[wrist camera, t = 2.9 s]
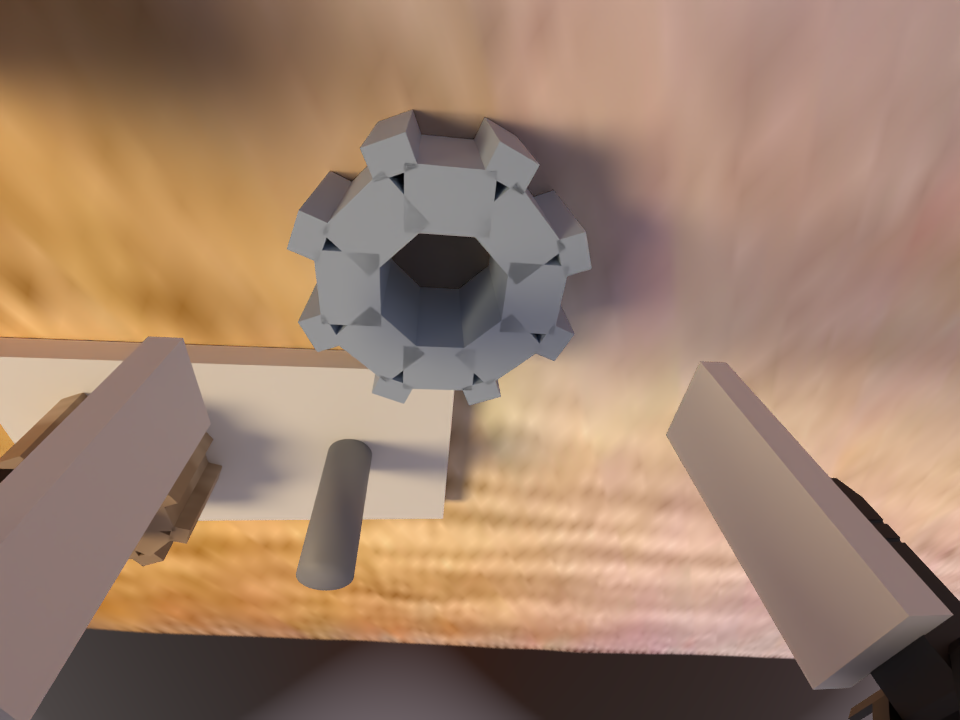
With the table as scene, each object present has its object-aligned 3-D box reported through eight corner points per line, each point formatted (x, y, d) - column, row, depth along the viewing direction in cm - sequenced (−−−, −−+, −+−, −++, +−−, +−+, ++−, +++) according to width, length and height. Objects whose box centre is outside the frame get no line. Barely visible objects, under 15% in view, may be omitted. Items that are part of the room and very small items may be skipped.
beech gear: (11, 390, 21) (-67, 455, 18) (198, 395, 22) (157, 457, 19) (82, 500, 25) (31, 568, 22) (234, 500, 26) (206, 564, 23)
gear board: (-20, 336, 21) (-246, 485, 14) (455, 354, 23) (462, 486, 17) (85, 500, 28) (-31, 653, 21) (442, 499, 30) (444, 634, 23)
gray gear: (308, 98, 16) (266, 118, 12) (579, 126, 18) (622, 153, 14) (333, 335, 22) (310, 401, 18) (534, 343, 23) (555, 407, 19)
